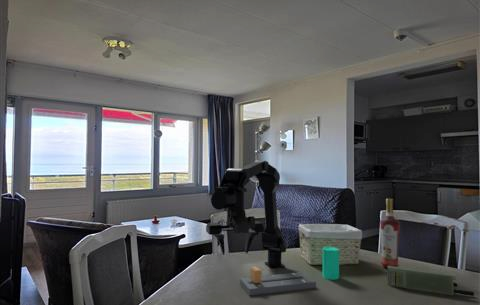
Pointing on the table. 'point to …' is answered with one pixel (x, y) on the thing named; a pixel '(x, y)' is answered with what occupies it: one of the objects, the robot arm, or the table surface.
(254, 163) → the robot arm
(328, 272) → the candle
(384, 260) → the liquor
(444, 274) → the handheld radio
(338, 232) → the storage basket
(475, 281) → the table surface
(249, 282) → the fader panel
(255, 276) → the fader knob
